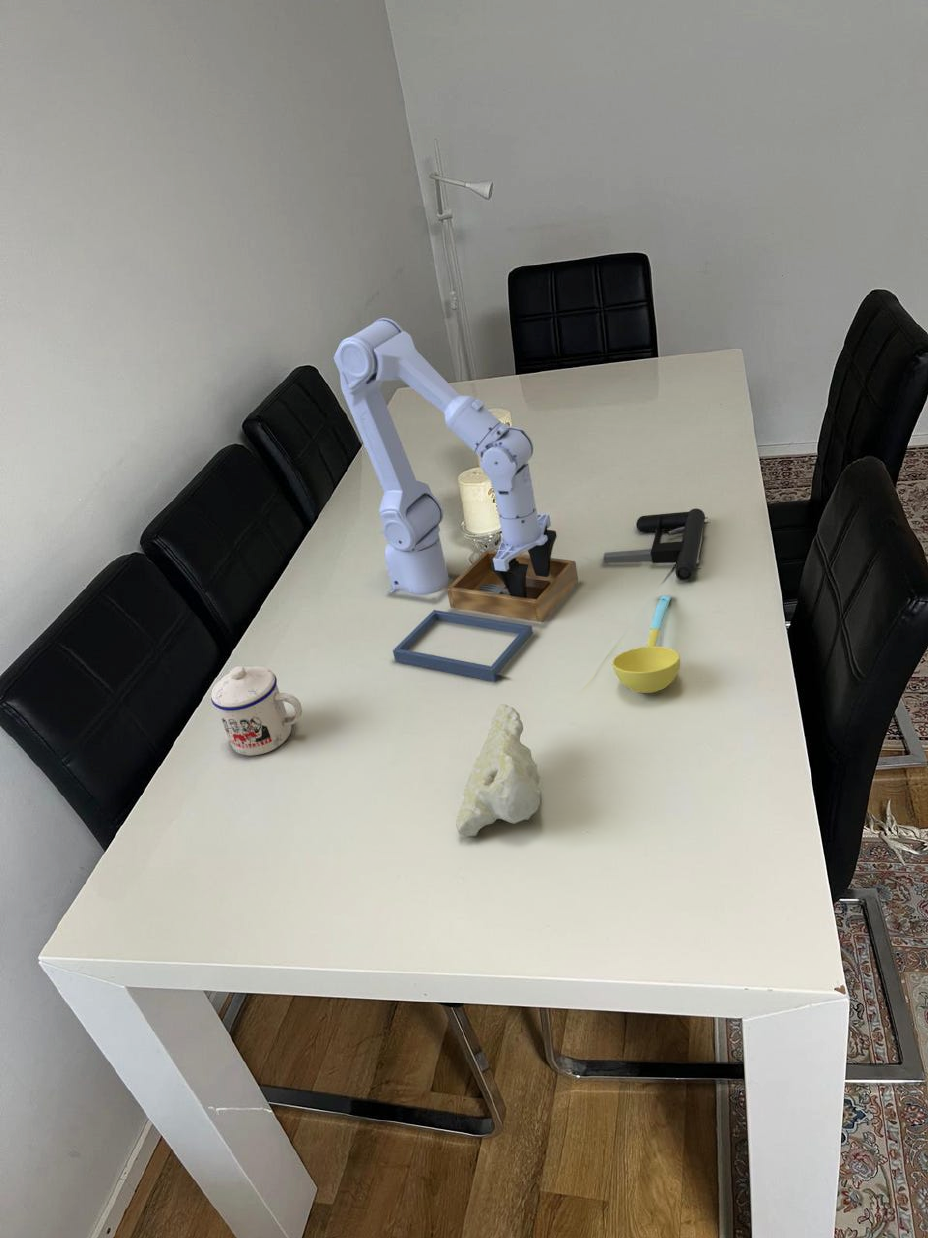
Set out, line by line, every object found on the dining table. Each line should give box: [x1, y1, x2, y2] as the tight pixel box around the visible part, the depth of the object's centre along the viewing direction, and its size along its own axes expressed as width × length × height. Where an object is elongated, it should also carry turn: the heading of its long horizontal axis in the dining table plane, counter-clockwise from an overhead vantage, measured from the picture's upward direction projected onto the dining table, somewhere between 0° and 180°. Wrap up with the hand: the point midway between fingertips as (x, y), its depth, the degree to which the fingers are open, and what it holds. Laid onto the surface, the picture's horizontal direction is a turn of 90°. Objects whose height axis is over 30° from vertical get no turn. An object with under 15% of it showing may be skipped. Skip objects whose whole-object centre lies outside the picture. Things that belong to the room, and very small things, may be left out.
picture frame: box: [392, 609, 534, 683], centre depth 146 cm, size 18×12×2 cm, turn 59°
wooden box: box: [446, 550, 579, 624], centre depth 155 cm, size 17×13×4 cm
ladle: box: [612, 595, 681, 694], centre depth 137 cm, size 9×26×6 cm, turn 165°
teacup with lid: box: [210, 665, 303, 756], centre depth 134 cm, size 12×9×12 cm
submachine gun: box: [602, 507, 710, 582], centre depth 159 cm, size 3×20×16 cm
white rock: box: [455, 703, 541, 838], centre depth 116 cm, size 15×7×15 cm
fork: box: [477, 578, 550, 600], centre depth 155 cm, size 13×2×3 cm, turn 59°
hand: (531, 587), depth 153 cm, fingers open, 7 cm apart
